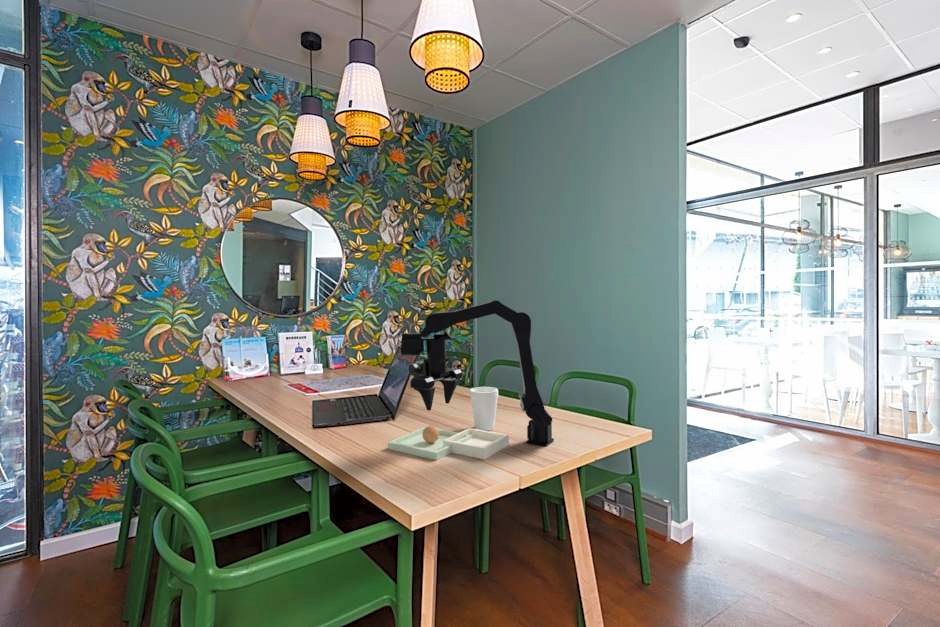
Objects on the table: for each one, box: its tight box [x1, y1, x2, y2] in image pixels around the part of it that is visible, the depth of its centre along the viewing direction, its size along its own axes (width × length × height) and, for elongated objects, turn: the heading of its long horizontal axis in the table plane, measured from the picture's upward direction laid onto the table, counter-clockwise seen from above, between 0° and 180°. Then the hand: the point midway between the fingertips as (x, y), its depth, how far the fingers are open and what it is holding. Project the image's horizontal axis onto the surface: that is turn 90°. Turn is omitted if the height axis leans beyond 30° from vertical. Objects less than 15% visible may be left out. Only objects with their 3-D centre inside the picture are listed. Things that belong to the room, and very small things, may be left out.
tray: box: [387, 426, 472, 461], centre depth 135 cm, size 18×18×2 cm
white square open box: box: [443, 427, 510, 460], centre depth 132 cm, size 14×14×3 cm
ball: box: [422, 425, 439, 443], centre depth 135 cm, size 5×5×5 cm
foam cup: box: [469, 386, 499, 431], centre depth 151 cm, size 10×9×13 cm
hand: (438, 406), depth 135 cm, fingers open, 9 cm apart
